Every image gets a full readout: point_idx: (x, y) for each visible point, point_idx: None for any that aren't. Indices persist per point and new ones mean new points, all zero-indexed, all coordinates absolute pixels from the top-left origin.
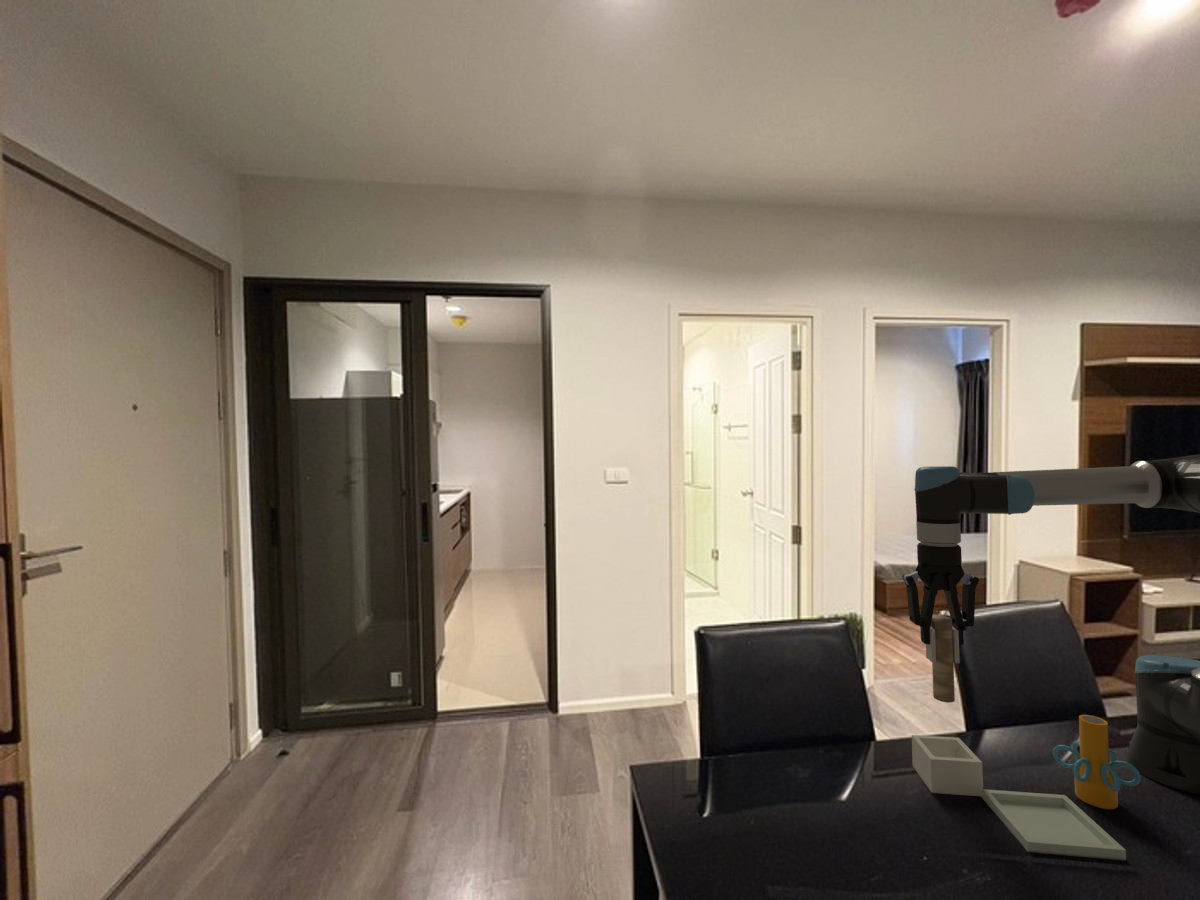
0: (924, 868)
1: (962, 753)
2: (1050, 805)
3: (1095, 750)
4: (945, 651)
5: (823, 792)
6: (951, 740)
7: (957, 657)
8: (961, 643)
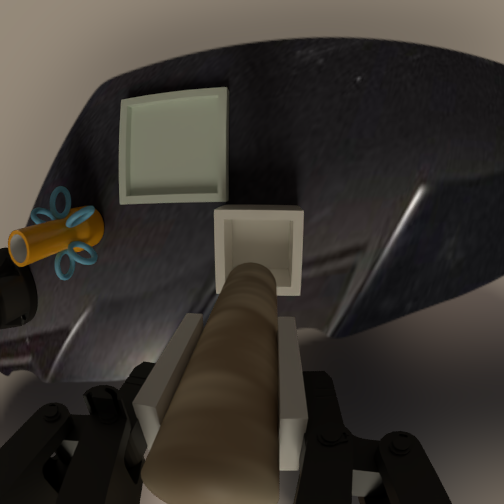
0: (364, 64)
1: (226, 258)
2: (145, 193)
3: (48, 224)
4: (237, 333)
5: (439, 202)
6: None
7: (187, 324)
8: (145, 366)
